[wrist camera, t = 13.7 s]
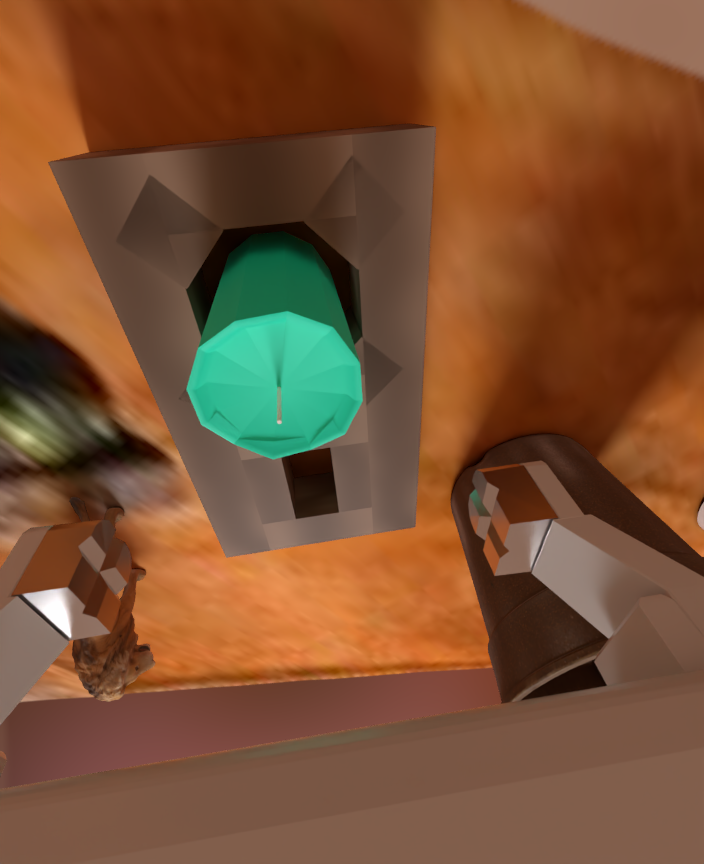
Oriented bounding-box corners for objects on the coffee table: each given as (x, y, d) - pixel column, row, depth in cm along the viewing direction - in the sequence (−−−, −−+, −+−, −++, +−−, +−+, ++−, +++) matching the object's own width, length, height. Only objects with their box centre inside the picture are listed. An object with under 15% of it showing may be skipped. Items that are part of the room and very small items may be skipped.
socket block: (409, 123, 18) (435, 127, 15) (402, 488, 33) (415, 527, 30) (89, 152, 17) (48, 162, 14) (231, 514, 32) (226, 557, 29)
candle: (198, 257, 21) (132, 380, 11) (308, 210, 20) (334, 300, 11) (254, 355, 24) (240, 508, 15) (348, 318, 24) (393, 454, 14)
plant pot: (435, 560, 41) (504, 758, 28) (409, 446, 31) (499, 678, 18) (594, 516, 40) (737, 700, 28) (622, 384, 30) (868, 582, 17)
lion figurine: (175, 594, 38) (152, 702, 31) (116, 603, 38) (80, 715, 31) (112, 486, 29) (60, 605, 22) (33, 495, 29) (-45, 621, 22)
